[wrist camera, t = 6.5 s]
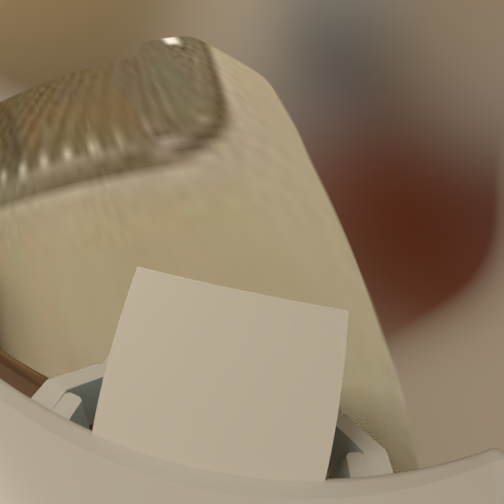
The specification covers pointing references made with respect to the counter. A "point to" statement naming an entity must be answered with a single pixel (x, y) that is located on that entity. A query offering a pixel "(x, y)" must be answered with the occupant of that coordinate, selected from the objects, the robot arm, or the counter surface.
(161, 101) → the counter surface
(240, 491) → the robot arm
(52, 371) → the counter surface
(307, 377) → the tin
